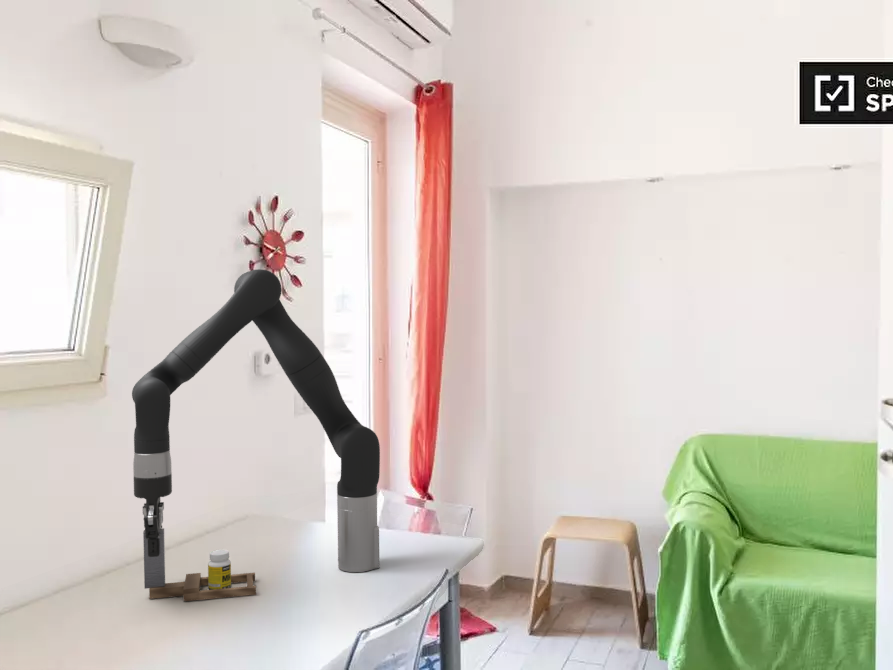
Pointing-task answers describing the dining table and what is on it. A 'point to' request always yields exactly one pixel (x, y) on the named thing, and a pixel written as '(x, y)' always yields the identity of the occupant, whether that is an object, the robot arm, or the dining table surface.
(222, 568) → the supplement bottle
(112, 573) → the dining table surface
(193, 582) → the strip frame
